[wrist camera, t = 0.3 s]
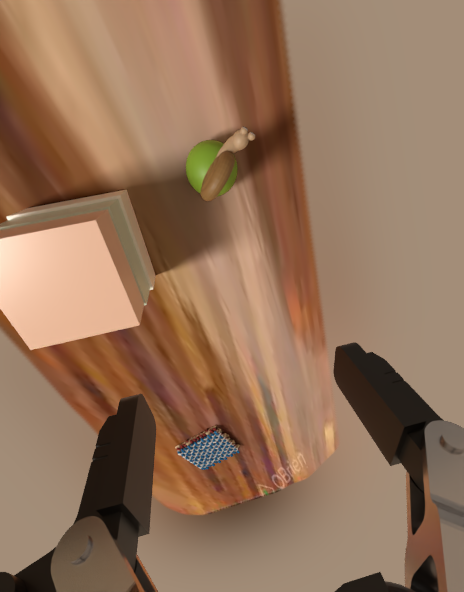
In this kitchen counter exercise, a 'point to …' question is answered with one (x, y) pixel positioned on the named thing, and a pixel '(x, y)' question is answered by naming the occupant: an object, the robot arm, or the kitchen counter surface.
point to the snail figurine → (215, 164)
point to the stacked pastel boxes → (74, 269)
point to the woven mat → (208, 448)
